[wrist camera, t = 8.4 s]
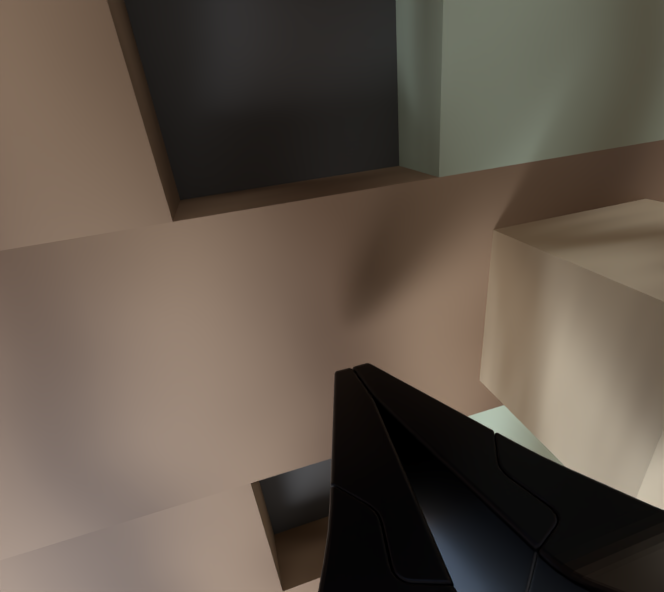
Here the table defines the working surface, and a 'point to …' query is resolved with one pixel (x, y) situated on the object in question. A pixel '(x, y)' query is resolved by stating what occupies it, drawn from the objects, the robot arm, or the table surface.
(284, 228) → the trap deck
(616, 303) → the block
